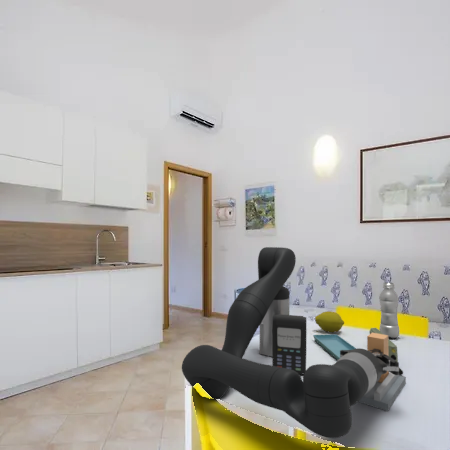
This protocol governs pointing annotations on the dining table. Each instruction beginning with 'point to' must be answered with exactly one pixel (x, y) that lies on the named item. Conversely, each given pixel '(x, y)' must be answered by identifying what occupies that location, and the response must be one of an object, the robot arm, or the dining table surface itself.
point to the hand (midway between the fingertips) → (377, 353)
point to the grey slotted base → (384, 392)
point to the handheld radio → (389, 348)
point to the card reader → (289, 342)
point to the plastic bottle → (389, 311)
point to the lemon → (329, 321)
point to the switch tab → (378, 347)
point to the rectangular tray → (333, 344)
